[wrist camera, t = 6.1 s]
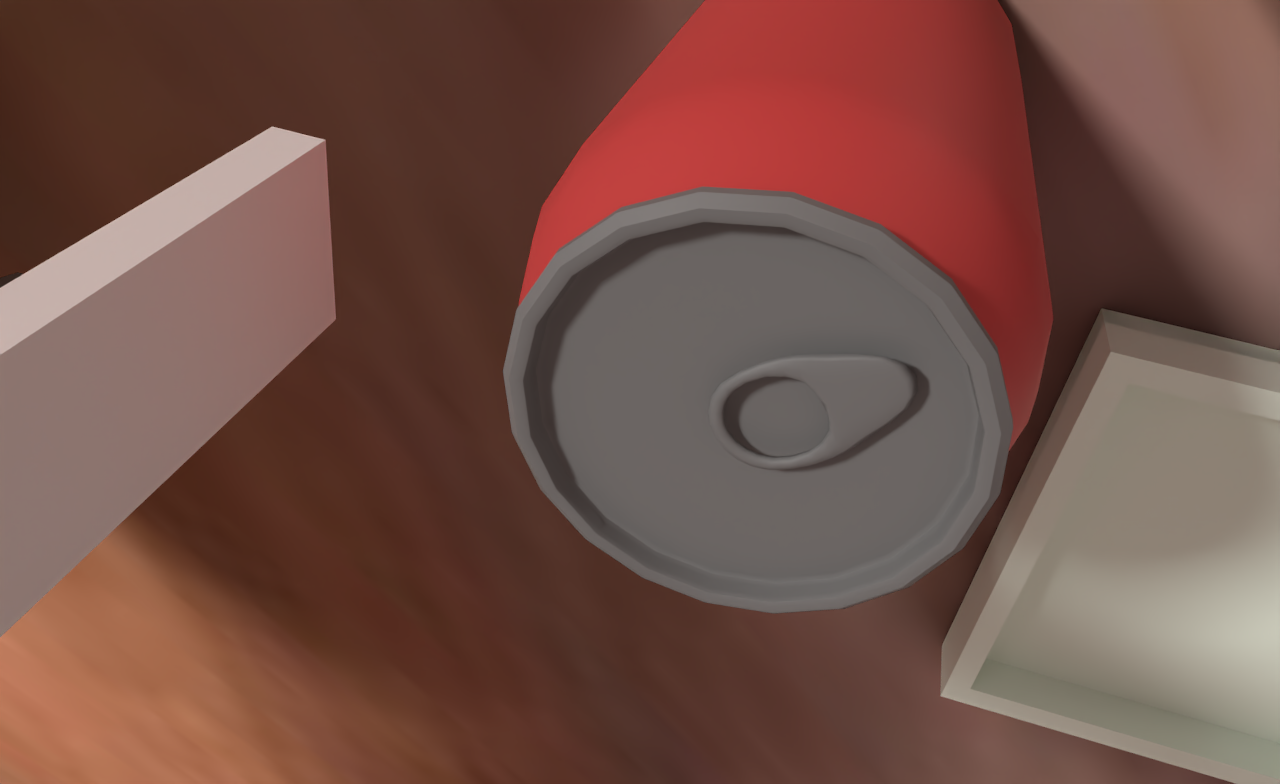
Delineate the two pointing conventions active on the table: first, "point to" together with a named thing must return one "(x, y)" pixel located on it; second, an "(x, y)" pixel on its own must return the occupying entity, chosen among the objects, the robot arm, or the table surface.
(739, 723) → the table surface
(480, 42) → the table surface
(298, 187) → the robot arm
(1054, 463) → the tray
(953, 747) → the table surface
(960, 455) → the beer can
